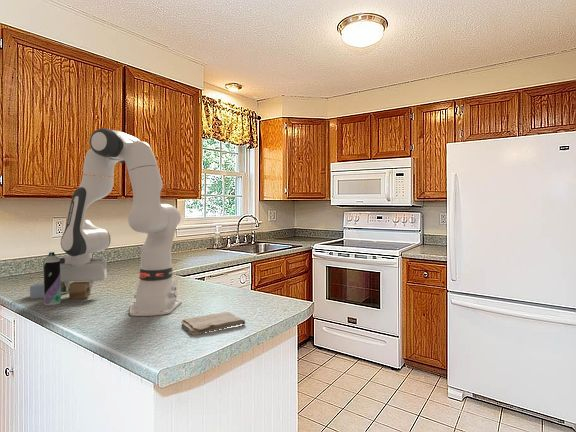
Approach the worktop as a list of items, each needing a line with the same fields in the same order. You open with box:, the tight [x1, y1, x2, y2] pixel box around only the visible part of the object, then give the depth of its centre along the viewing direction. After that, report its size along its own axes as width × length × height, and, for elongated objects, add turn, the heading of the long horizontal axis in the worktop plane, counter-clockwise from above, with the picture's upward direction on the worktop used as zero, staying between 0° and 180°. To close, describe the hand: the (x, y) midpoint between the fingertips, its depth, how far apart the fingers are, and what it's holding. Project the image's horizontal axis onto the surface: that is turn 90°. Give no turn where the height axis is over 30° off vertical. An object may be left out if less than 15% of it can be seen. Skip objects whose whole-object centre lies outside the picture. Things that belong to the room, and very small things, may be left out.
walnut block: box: [68, 281, 92, 300], centre depth 152 cm, size 6×6×6 cm
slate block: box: [29, 282, 44, 299], centre depth 151 cm, size 5×5×5 cm
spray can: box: [42, 251, 62, 306], centre depth 141 cm, size 6×6×20 cm
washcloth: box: [180, 311, 246, 336], centre depth 118 cm, size 12×18×3 cm, turn 125°
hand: (80, 291), depth 152 cm, fingers closed on walnut block, 6 cm apart
